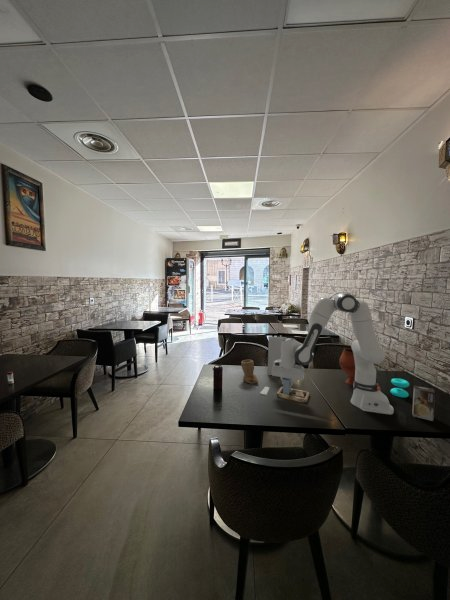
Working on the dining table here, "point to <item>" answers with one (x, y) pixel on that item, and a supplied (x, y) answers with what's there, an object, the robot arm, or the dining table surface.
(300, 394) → the offcut upper
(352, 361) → the terracotta vase
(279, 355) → the grey box
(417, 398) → the grey picture frame
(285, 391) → the blue grey block
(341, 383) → the dining table surface
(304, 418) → the dining table surface
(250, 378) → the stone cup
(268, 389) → the mat
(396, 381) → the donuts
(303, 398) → the wooden tray
